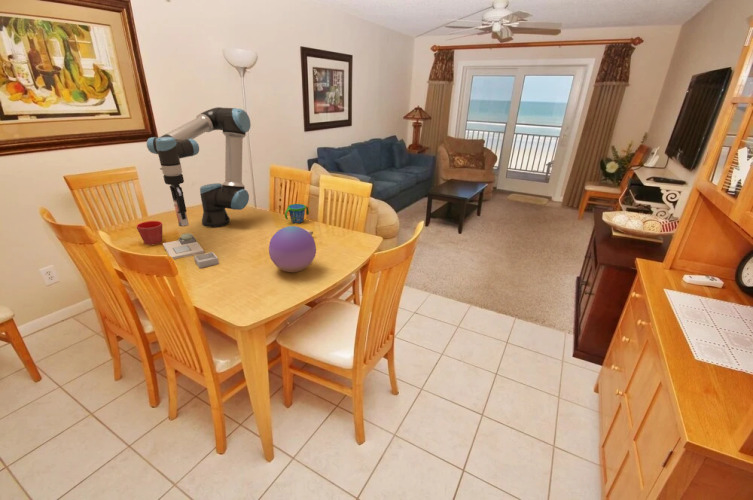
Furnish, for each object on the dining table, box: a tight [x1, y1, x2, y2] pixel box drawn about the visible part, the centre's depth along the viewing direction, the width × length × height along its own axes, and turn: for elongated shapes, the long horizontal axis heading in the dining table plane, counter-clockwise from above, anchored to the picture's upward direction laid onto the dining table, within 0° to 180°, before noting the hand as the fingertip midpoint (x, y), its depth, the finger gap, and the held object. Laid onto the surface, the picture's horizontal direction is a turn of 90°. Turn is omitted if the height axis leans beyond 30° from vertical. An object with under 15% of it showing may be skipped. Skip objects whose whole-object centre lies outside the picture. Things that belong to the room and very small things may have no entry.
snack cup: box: [284, 203, 310, 224], centre depth 208 cm, size 16×10×10 cm
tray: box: [193, 251, 220, 269], centre depth 154 cm, size 8×8×3 cm
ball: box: [268, 225, 317, 273], centre depth 148 cm, size 20×20×20 cm
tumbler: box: [172, 200, 190, 227], centre depth 158 cm, size 4×4×12 cm
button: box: [180, 232, 193, 240], centre depth 172 cm, size 5×5×2 cm
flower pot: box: [135, 220, 164, 246], centre depth 171 cm, size 11×11×10 cm
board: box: [162, 234, 205, 260], centre depth 166 cm, size 14×20×3 cm
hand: (183, 223), depth 160 cm, fingers closed on tumbler, 4 cm apart
